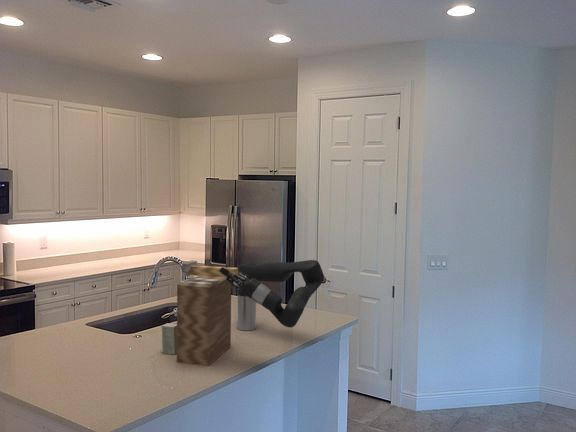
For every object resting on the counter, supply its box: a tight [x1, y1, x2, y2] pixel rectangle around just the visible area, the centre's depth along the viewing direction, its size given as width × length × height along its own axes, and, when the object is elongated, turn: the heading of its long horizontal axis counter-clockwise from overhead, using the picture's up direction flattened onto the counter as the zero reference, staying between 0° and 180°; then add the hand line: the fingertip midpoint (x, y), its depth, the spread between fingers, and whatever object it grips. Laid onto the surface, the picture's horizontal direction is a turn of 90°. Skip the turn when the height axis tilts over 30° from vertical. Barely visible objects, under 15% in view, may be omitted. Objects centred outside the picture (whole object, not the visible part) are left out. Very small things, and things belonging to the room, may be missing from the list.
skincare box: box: [161, 322, 177, 355], centre depth 222 cm, size 6×4×12 cm
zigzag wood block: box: [176, 276, 232, 367], centre depth 219 cm, size 14×24×33 cm, turn 165°
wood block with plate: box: [181, 260, 238, 278], centre depth 211 cm, size 22×9×5 cm, turn 75°
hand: (222, 268), depth 210 cm, fingers closed on wood block with plate, 3 cm apart
